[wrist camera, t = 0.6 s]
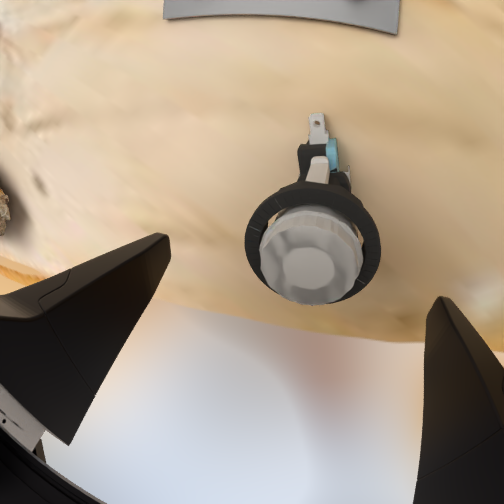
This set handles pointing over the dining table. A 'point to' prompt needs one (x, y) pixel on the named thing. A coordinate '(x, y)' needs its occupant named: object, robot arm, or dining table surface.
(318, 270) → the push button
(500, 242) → the dining table surface
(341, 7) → the dock
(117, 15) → the dining table surface
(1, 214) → the mineral specimen
